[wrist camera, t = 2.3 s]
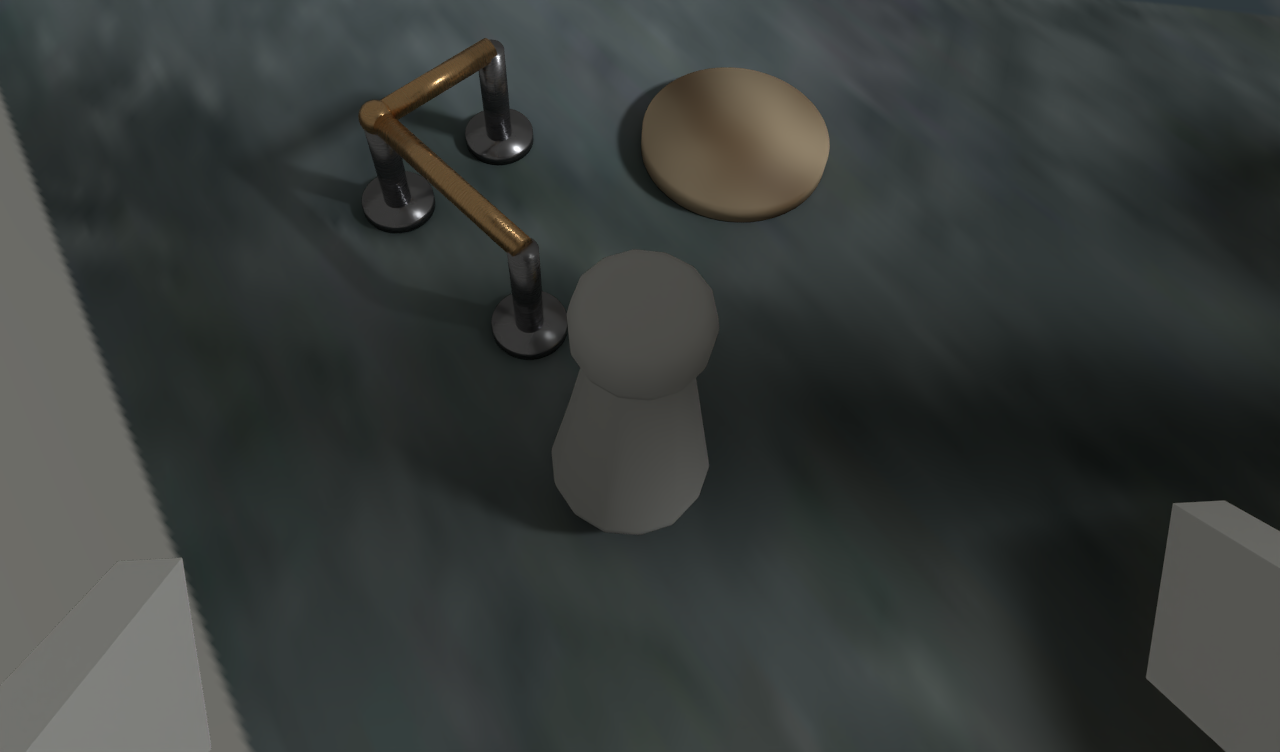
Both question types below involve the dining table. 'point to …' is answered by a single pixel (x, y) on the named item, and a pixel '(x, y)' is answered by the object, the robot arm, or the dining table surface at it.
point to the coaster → (734, 144)
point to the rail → (464, 187)
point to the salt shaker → (636, 392)
